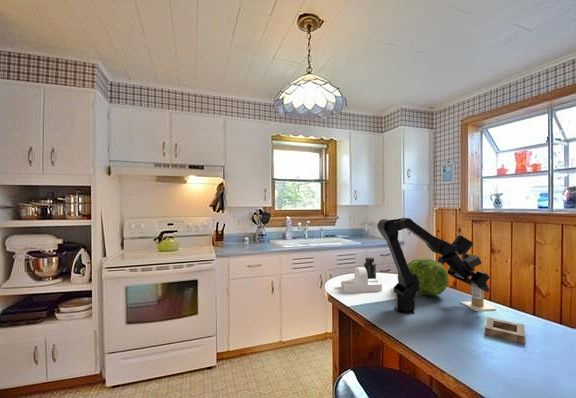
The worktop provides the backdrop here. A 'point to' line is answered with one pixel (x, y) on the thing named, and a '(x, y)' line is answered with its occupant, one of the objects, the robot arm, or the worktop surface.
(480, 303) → the sprinkles bottle
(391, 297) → the worktop surface
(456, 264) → the robot arm
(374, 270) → the supplement bottle
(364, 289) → the bracket
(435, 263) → the lettuce
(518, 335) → the socket block
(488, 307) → the pad
